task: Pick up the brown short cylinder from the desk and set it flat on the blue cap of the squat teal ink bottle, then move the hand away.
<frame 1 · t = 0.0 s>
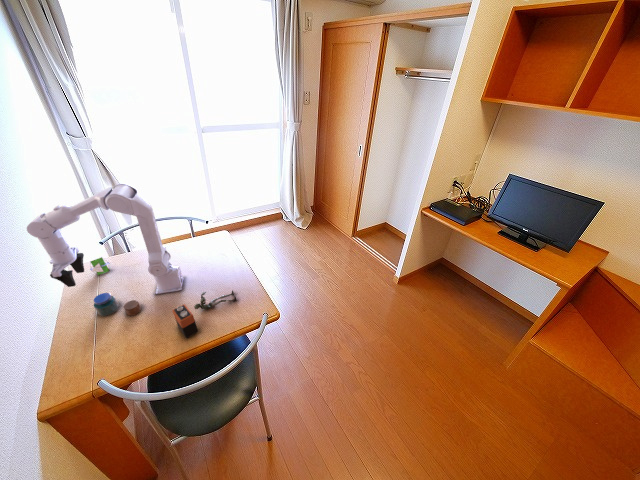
hand: (76, 278, 97), 10 cm above the table, tool pointing down, fingers open, 7 cm apart
ink bottle: (108, 309, 99), on the table
zombie figurine: (216, 304, 104), on the table
geometric puzzle: (103, 272, 115), on the table
battery: (188, 329, 93), on the table
brown short cylinder: (134, 310, 99), on the table
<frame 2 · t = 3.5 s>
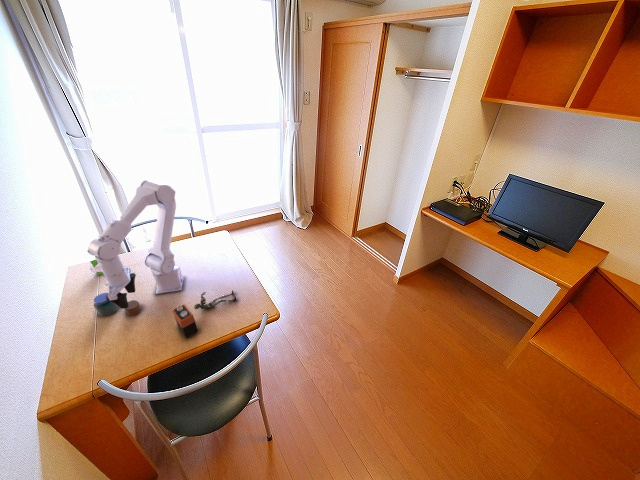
hand: (128, 299, 96), 6 cm above the table, tool pointing down, fingers open, 7 cm apart
nothing on the table moved.
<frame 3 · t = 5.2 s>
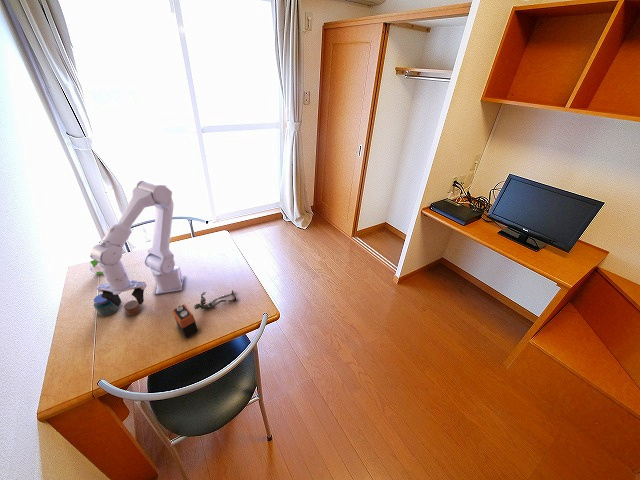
hand: (130, 303, 97), 4 cm above the table, tool pointing down, fingers open, 7 cm apart
nothing on the table moved.
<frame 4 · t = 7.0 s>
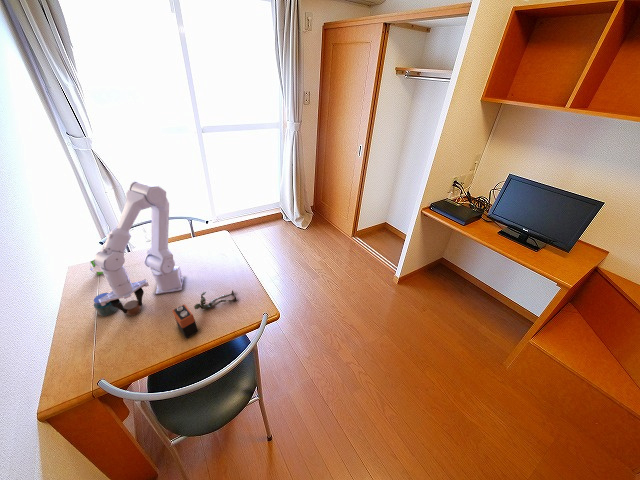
hand: (132, 308, 98), 1 cm above the table, tool pointing down, fingers closed on brown short cylinder, 4 cm apart
brown short cylinder: (134, 310, 99), on the table, touching gripper
everything else where it was.
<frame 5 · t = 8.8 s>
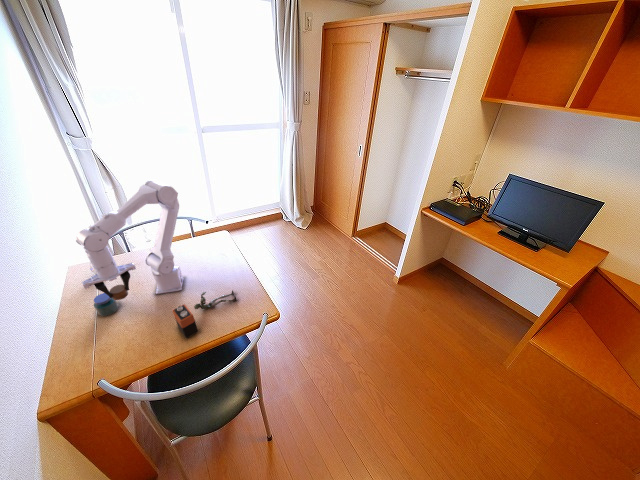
hand: (119, 292, 94), 9 cm above the table, tool pointing down, fingers closed on brown short cylinder, 4 cm apart
brown short cylinder: (120, 295, 95), point 8 cm above the table, touching gripper
everything else where it was.
when the fingers open (7 cm above the table, at t = 10.6 s): brown short cylinder stays where it is, resting on ink bottle.
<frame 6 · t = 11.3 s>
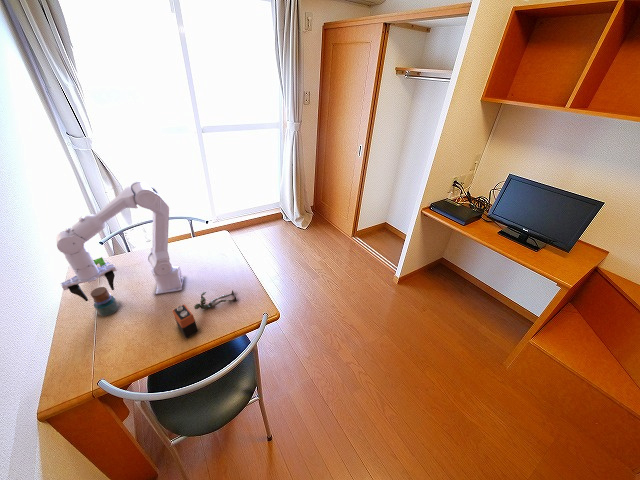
hand: (99, 293, 94), 8 cm above the table, tool pointing down, fingers open, 7 cm apart
brown short cylinder: (102, 297, 95), point 6 cm above the table, touching ink bottle
everything else where it was.
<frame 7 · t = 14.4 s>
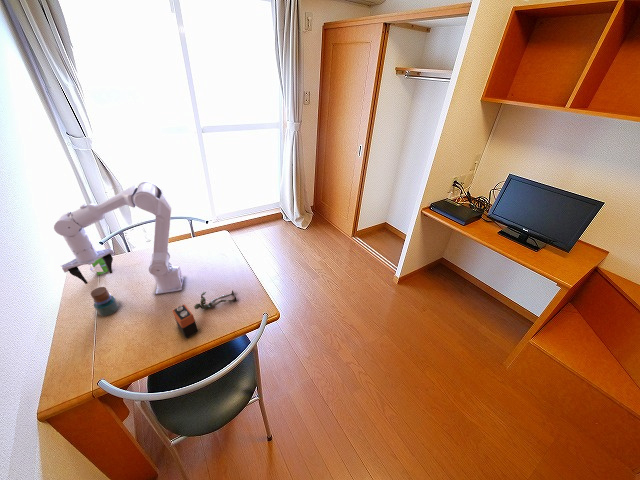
hand: (98, 277, 98), 10 cm above the table, tool pointing down, fingers open, 7 cm apart
nothing on the table moved.
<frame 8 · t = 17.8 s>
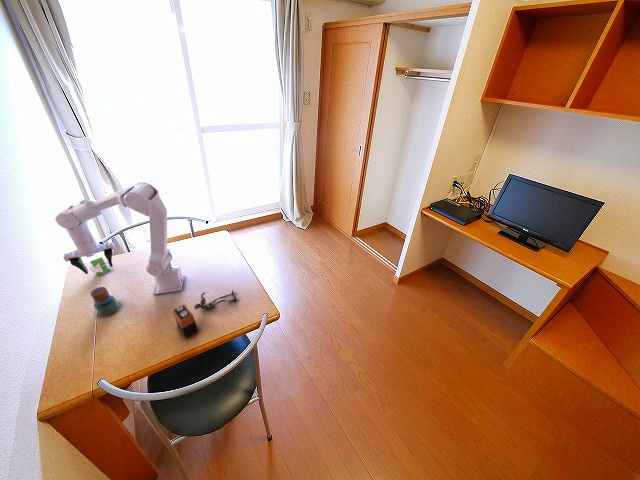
hand: (99, 268, 102), 10 cm above the table, tool pointing down, fingers open, 7 cm apart
nothing on the table moved.
at the end: brown short cylinder 0.0 cm off-centre on the ink bottle, point 6.1 cm above the ink bottle's base; brown short cylinder tilted 0°; the gripper is holding nothing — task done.
